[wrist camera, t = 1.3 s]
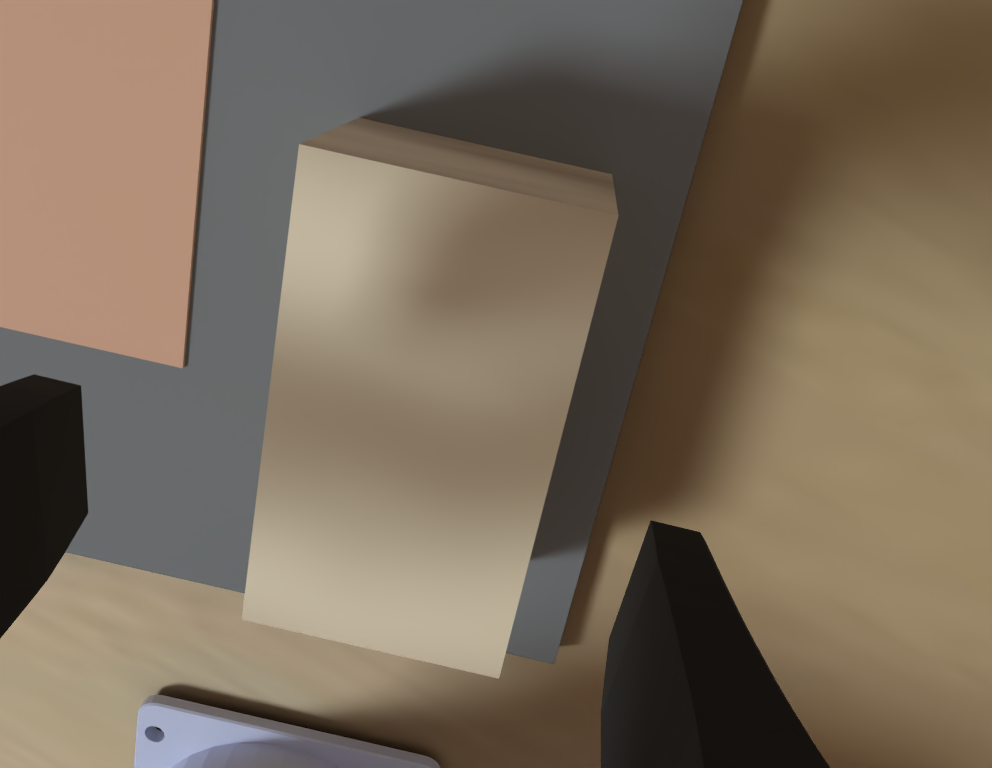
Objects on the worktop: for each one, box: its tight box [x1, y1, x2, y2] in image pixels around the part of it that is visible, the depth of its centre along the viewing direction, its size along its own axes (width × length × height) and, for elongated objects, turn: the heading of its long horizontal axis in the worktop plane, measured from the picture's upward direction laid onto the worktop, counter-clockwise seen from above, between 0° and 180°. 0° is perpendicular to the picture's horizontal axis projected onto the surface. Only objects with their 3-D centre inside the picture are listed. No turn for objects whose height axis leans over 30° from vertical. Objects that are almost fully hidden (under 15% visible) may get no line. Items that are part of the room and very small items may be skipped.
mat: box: [0, 0, 743, 664], centre depth 19 cm, size 20×22×1 cm
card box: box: [242, 118, 618, 679], centre depth 18 cm, size 9×5×4 cm, turn 168°
